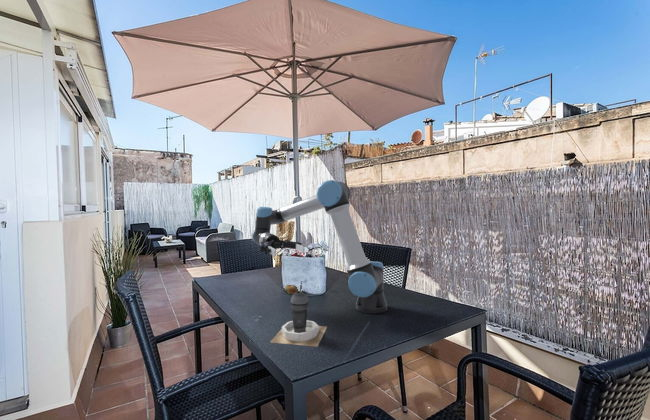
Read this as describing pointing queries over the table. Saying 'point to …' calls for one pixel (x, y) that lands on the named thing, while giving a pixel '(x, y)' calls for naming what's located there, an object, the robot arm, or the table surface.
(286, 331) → the bowl
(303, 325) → the beverage cup
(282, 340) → the cork mat
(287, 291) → the bread roll
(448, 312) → the table surface
